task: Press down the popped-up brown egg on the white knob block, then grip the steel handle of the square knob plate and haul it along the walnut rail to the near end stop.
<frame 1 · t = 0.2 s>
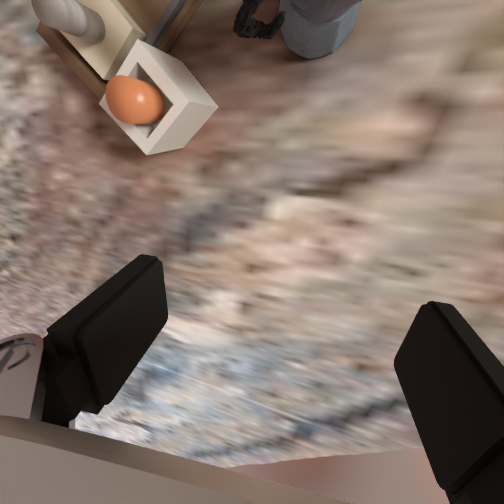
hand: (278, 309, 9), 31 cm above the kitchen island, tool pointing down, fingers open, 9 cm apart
white knob block: (182, 107, 35), on the kitchen island
square knob plate: (83, 22, 27), point 6 cm above the kitchen island, slide at 0.0 cm
brown egg: (137, 101, 25), point 11 cm above the kitchen island, slide at 0.0 cm
moka pot: (316, 16, 28), on the kitchen island
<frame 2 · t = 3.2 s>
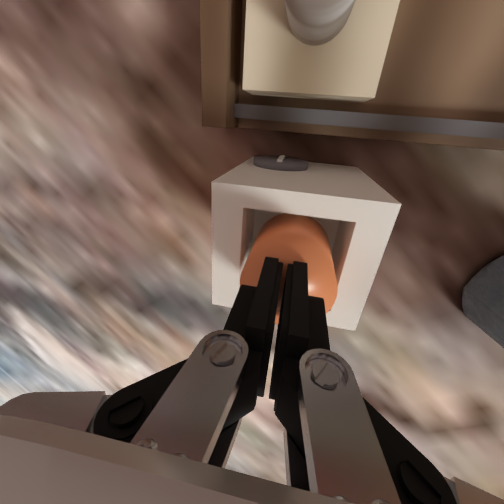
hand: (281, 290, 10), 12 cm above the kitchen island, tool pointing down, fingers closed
white knob block: (296, 204, 21), on the kitchen island
brown egg: (289, 265, 12), point 10 cm above the kitchen island, slide at 0.8 cm, touching gripper
rail bed: (420, 40, 15), on the kitchen island
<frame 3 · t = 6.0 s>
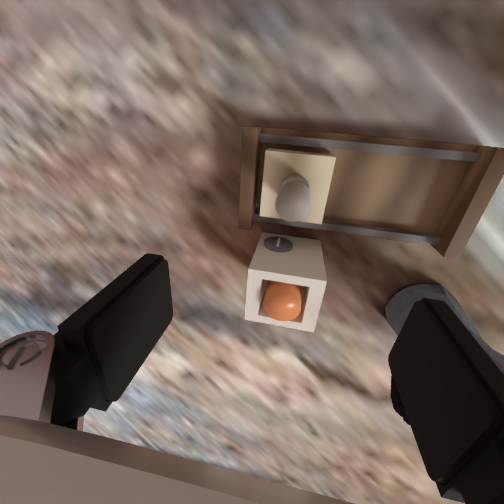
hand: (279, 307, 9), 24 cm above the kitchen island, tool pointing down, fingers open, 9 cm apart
white knob block: (287, 258, 35), on the kitchen island
square knob plate: (294, 192, 25), point 6 cm above the kitchen island, slide at 0.0 cm
brown egg: (283, 295, 28), point 9 cm above the kitchen island, slide at 2.2 cm
moka pot: (414, 307, 36), on the kitchen island
rail bed: (348, 185, 30), on the kitchen island
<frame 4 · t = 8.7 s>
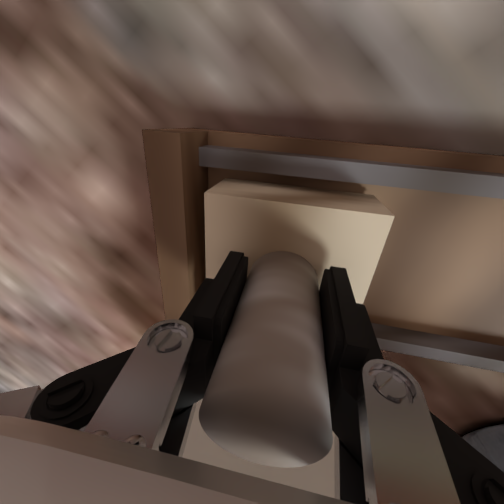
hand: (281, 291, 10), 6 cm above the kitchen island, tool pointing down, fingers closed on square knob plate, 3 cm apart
white knob block: (275, 361, 20), on the kitchen island
square knob plate: (279, 303, 9), point 6 cm above the kitchen island, slide at 0.0 cm, touching gripper
moka pot: (499, 447, 20), on the kitchen island
rail bed: (397, 253, 14), on the kitchen island
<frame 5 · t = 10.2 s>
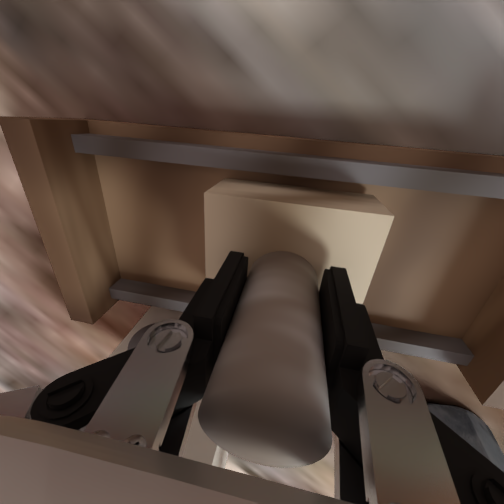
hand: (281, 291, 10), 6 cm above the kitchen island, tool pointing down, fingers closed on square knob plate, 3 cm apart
white knob block: (200, 345, 21), on the kitchen island
square knob plate: (279, 303, 9), point 6 cm above the kitchen island, slide at 6.4 cm, touching gripper
moka pot: (416, 429, 21), on the kitchen island
rail bed: (286, 237, 15), on the kitchen island
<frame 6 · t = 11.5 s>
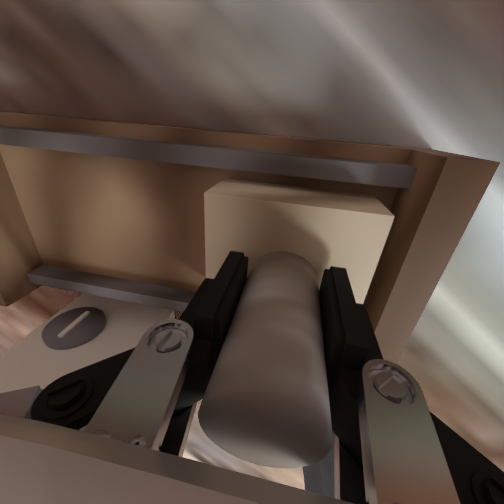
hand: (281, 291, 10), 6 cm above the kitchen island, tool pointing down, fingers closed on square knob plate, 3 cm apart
white knob block: (134, 332, 22), on the kitchen island
square knob plate: (279, 303, 9), point 6 cm above the kitchen island, slide at 12.5 cm, touching gripper
moka pot: (342, 412, 22), on the kitchen island
rail bed: (190, 224, 16), on the kitchen island
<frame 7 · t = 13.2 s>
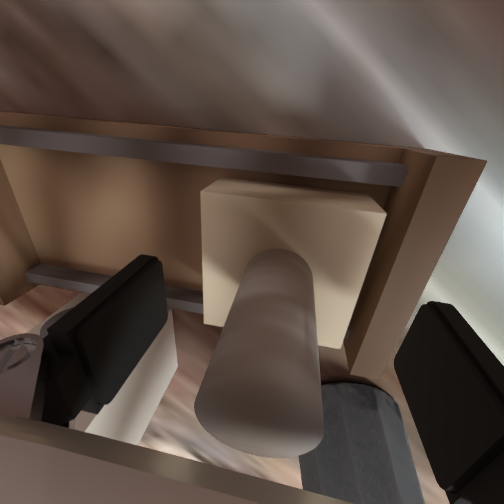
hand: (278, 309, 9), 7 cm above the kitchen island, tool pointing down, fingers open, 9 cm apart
white knob block: (132, 331, 22), on the kitchen island
square knob plate: (274, 300, 10), point 6 cm above the kitchen island, slide at 12.5 cm
moka pot: (339, 409, 22), on the kitchen island
rail bed: (187, 222, 16), on the kitchen island
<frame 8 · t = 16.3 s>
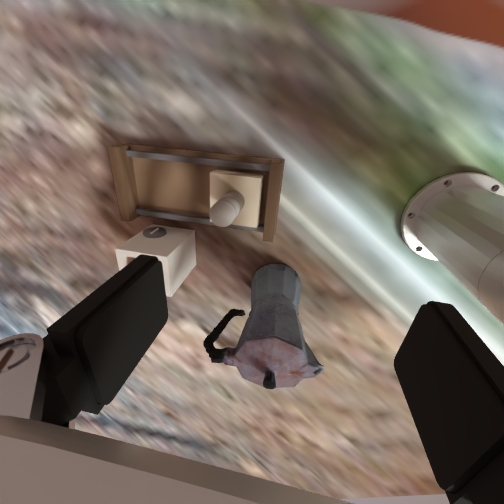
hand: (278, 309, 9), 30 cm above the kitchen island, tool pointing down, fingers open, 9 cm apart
white knob block: (174, 244, 45), on the kitchen island
square knob plate: (231, 204, 33), point 6 cm above the kitchen island, slide at 12.5 cm
moka pot: (274, 283, 45), on the kitchen island
rail bed: (203, 188, 39), on the kitchen island
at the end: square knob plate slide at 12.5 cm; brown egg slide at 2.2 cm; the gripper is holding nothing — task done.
